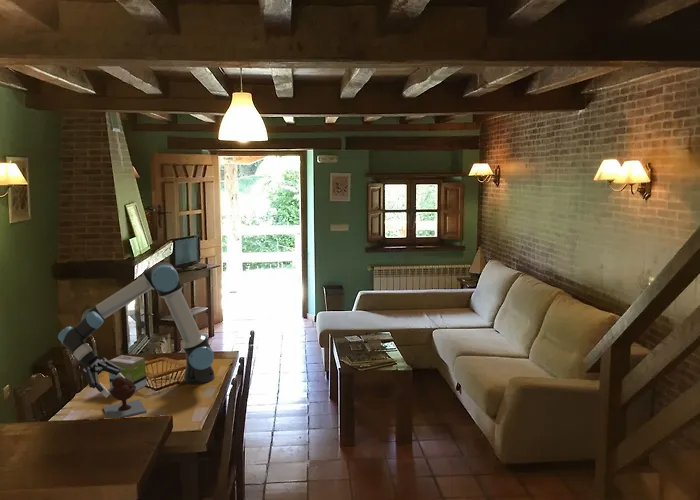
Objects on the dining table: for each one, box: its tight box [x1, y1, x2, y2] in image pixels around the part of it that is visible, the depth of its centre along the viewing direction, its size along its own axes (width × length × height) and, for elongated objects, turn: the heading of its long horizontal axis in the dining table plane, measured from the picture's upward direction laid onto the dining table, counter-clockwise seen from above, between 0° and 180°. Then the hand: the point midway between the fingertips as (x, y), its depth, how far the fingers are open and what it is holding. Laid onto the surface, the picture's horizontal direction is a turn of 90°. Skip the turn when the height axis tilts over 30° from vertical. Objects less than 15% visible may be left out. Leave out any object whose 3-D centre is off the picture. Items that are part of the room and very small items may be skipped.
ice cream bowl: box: [109, 377, 136, 411], centre depth 277 cm, size 11×11×15 cm
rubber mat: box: [102, 399, 147, 419], centre depth 278 cm, size 16×16×1 cm
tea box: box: [108, 354, 148, 392], centre depth 306 cm, size 15×10×15 cm, turn 68°
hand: (118, 390), depth 276 cm, fingers open, 13 cm apart
